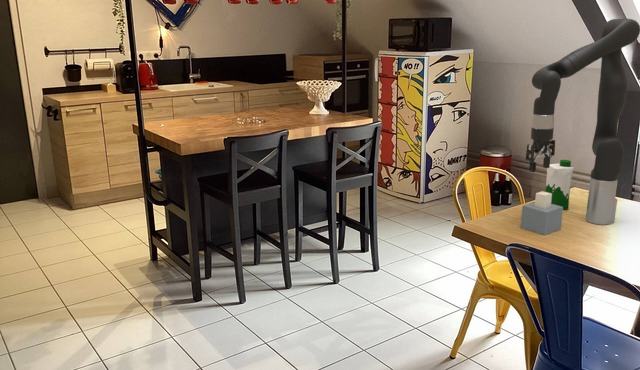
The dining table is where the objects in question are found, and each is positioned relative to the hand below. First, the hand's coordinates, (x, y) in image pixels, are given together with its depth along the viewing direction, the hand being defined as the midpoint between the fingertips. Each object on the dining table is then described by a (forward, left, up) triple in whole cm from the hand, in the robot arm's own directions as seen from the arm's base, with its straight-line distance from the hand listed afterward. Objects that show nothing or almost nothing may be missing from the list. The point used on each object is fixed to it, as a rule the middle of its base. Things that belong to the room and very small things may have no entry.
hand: (539, 169), depth 205 cm
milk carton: (-19, -20, -23) cm, 36 cm away
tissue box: (-1, +2, -22) cm, 23 cm away
